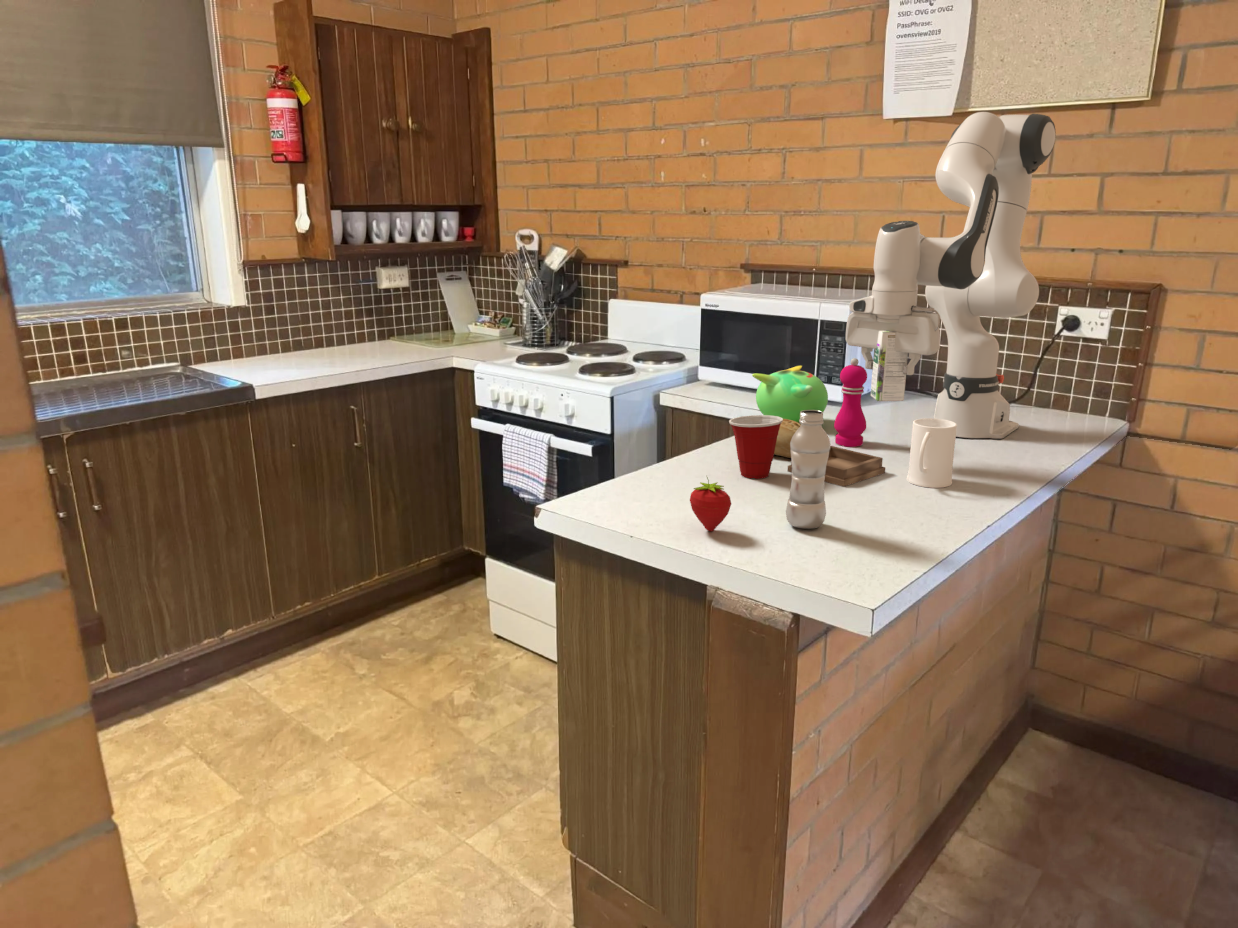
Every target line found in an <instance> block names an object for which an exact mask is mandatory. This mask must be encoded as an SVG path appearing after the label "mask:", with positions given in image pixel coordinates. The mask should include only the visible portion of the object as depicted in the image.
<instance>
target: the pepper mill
mask: <svg viewBox="0 0 1238 928" xmlns="http://www.w3.org/2000/svg"><path fill="white" fill-rule="evenodd" d="M849 363H850V364H849V365H846V366H844V367H843V368H842V370H841V371H840V374H839V380H840V382H841V383H842V386H841V393H842V404H841V407H840V409H839V411H838V413H837V414H836V416H835V420H834V424H833V426H834V427H833V428H834V430H835V432H837V434H836V435H835V438H834V439H835V440H834V443H835V444H836V445H838V446H841V447H848V448H854V447H855V448H856V447H860V446H863V444H864V436H863V433H865V431H866V430H867V421H866V419H867V418H866V417H865V414H864V411H863V409H862V404H861V403H862V394H864V393H865V391H864V390H865V386H864V384H865V383H866V382H867V380H868V372H867V369H866V368H865V367H863V366H862V365H859V364H860V363H859V359H858V358H857V357H853V358H852V359H850V362H849Z"/></svg>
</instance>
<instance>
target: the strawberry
mask: <svg viewBox="0 0 1238 928" xmlns="http://www.w3.org/2000/svg"><path fill="white" fill-rule="evenodd" d="M706 479H707V483H706V482H699V484H701V485H702V486H697V487H694V488H693V491H692V492H691V493H690V498H689V502H690V506H691V511H692V512H693V513H694V515H695V517H696V518H697V519H698V520H697V521H699V522H700V523H701V524H702V526H703V527H704V529H705V530H706V531H708V532H714V531H715V530H716V529H717V528H718V527H719V525H721V524H722V522H723V521H724V520H725V518H727V516H728V515H729V513H730V508H731V507H732V501H731V497H730V495H729V494H728V493H727V492H726V491H725V488H723V487H725V485H720V484H718V482H717V481H716V482H713V483H710V480H709V478H708V475H706Z"/></svg>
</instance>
